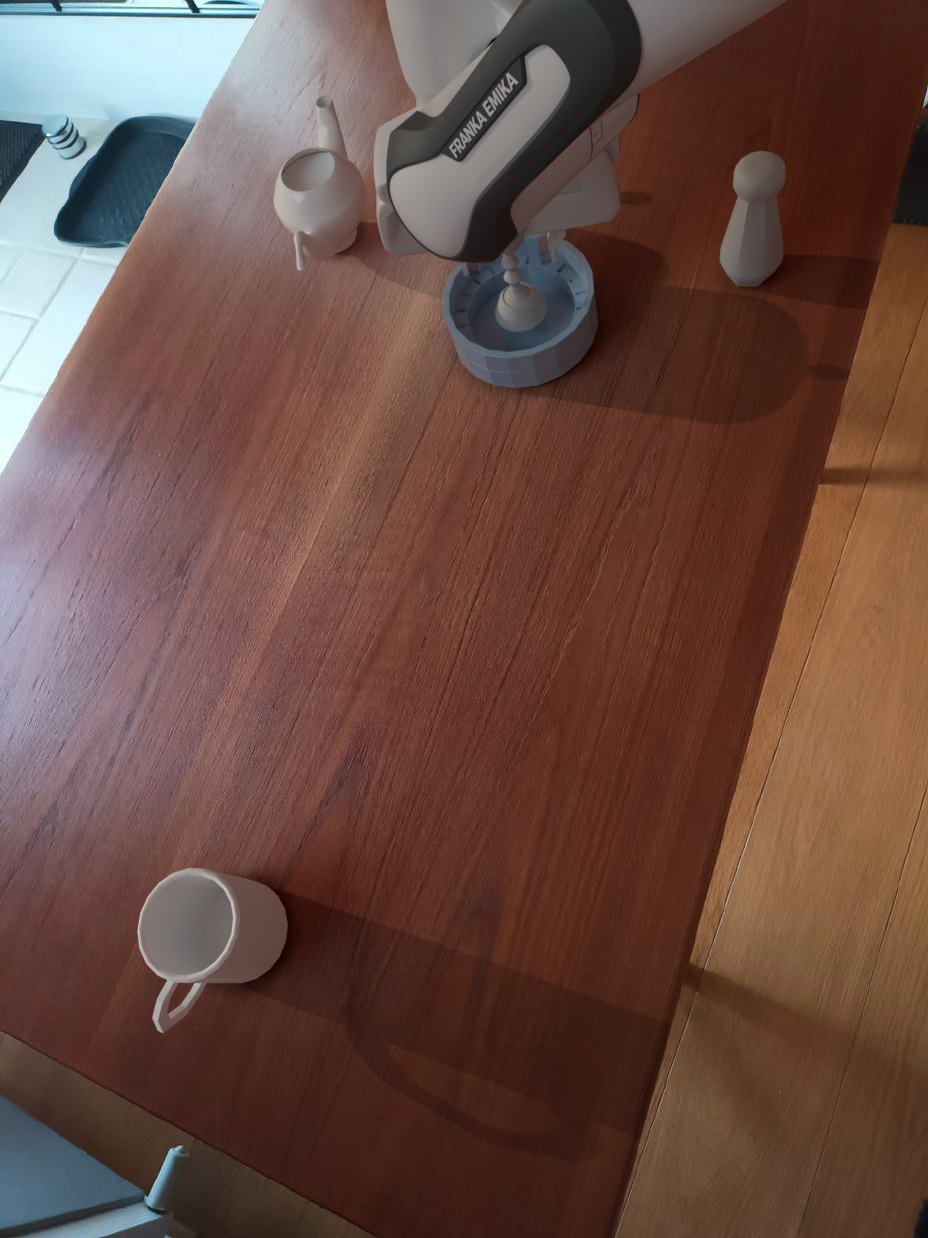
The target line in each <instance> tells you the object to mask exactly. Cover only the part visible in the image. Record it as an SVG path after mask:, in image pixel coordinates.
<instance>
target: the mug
mask: <svg viewBox="0 0 928 1238" xmlns="http://www.w3.org/2000/svg"><path fill="white" fill-rule="evenodd" d="M138 920H139V921H138V925H137V939H138V940H137V941H138V948H139V951H140V952H141V955H142V957H143V959H144V962H145V964H146V965H147V966H148V967H149V968H150V969H151V970H152V971H153V972H154V973H155V974H156V975H157V976H158V977H160V978H162V979H164V980H166V982H165V984H164V986H163V987H162V989H161V991H160V992H159V995H158V996H157V999H156V1001H155V1005H154V1009H153V1012H152V1017H151V1019H152V1021H153V1023H154V1026H155V1028H156V1030H157V1032H159V1033H162V1034H165V1033H167V1031H169V1030H170V1029H171V1028H172V1027H174V1026H175V1025H177V1023H179V1022H180V1021H182V1020H183V1019H184V1018H186V1017H187V1015H188V1014H189V1012H190V1011H191V1010H192V1008H193V1007H194V1005H195V1004H196V1002H197V1001H198V999H199V998H200V996H201V995H202V993H203V991H204V989H205V987H206V985H207V984H243V983H244V984H245V983H247V982H250V981H254V980H256V979H258V978H259V977H261V976H263V975H264V974H265V973H267V972H268V971H270V970H271V968H272V967H273V966H274V965H275V963H276V962H277V961H278V960H279V958H280V957H281V954H282V951H283V950H284V948H285V945H286V942H287V935H288V926H289V924H288V923H289V922H288V919H287V913H286V909H285V905H284V904H283V903H282V901H281V899H280V897H279V895H277V893H275V892H274V891H273V889H271V888H270V887H269V886H268V885H266V884H263V883H261V882H259V881H256V880H253V879H249V878H244V877H240V876H237V875H231V874H229V873H223V872H219V871H216V870H213V869H207V868H200V867H199V868H198V867H196V868H195V867H188V868H185V869H181V870H178V871H175V872H172V873H171V874H169V875H168V876H167V877H165V878H164V879H161V881H159V882H158V883H157V885H155V887H154V888H153V889H152V890H151V892H150V893H149V894H148V896H147V897H146V900H145V902H144V904H143V906H142V908H141V911H140V913H139V918H138ZM180 983H182V984H193V985H192V986H191V989H190V991H189V992H188V993H187V994H186V996H185V998H184V999H183V1001H181V1003H180V1004H179V1005H178V1006H177V1007H175V1008H174V1009H173V1010H171V1011H170V1012H169V1013H168V1010H169V1005H170V1002H171V999H172V996H173V994H174V992H175V990H176V989H177V987H178V985H179V984H180Z"/></svg>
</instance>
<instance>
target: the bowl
mask: <svg viewBox="0 0 928 1238" xmlns="http://www.w3.org/2000/svg"><path fill="white" fill-rule="evenodd" d="M547 233H548V232H545V233H539V234H533V235H527V236H525V237H524V240H523V242H522V244H521V246H520V248H519V249H518V250H517V251H515V252H514V254H515V256H517V257H518V258H519V263H518V265H517V269H520V270H521V271H522V272H523V277H522V279H521V280H520V282H525V283H529V284H530V285H532V286H533V287H534V288H535V289H536V290H537V291H538V292H539V293H540V294H541V295H542V296H543V297H544V298H545V300H546V303H547V312H546V315H545V317H544V319H543V320H542V321H541V322H540V323H539V324H538V325H537V326H535V327H534V328H532V329H529V330H526V331H521V332H514V331H509V330H506V329H505V328H503V327H501V326H500V324H499V323H498V322H497V320H496V317H495V309H496V306H497V304H498V300H499V297H500V294H501V292H502V291H503V290H504V289H505V288H506V287H507V286H509V285H510V284H509V283H507V282H506V281H505V280H504V274H505V272H506V271H507V270H506V268H504V267H503V266H502V265H501V261H502V259H503V255H500V256H499V257H498V258H497V259H496V260H495V261H493V262H486V263H480V274H475V275H469V276H464V273H463V270H462V266H461V265H459V264H458V263H457V265H456V266H455V268H454V269H453V271H452V272H451V273H450V274H449V276H448V278H447V281H446V284H445V287H444V289H443V290H444V291H443V292H442V295H441V296H442V299H441V300H442V317H443V319H444V322H445V325H446V328H447V331H448V334H449V337H450V341H451V343H452V346H453V348H454V350H455V353H456V355H457V357H458V360H459V362H460V364H461V365H462V366H463V367H464V368H466V370H468V372H469V373H470V374H471V375H472V376H474V377H475V378H477V379H479V380H481V381H484V382H485V383H488V384H489V385H492V386H495V387H496V386H497V387H502V388H511V389H520V388H522V389H523V388H528V387H529V388H530V387H535V386H537V387H538V386H540V385H543V384H545V383H547V382H550V381H552V380H556V379H557V378H560V377H562V376H563V375H564V374H566V373H567V372H569V371H570V370H571V369H573V368H574V367H575V366H576V365H578V364H579V363H580V362H581V361H582V360H583V358H584V356H585V355H586V353H587V352H588V351H589V349H590V348H591V346H592V345H593V343H594V340H595V336H596V333H597V330H598V327H599V319H598V307H597V306H598V305H597V296H596V289H595V280H594V271H593V269H592V267H591V265H590V263H589V262H588V260H587V258H586V256H585V254H584V253H583V252H581V250H579V249H578V248H577V247H576V246H574V245H573V244H572V243H571V242H570V241H569V240H566V239H565V238H564V239H563V240H562V242H561V243H560V245H559V246H558V248H557V262H550V263H543V264H541V259H540V254H539V243H538V236H543V235H547Z"/></svg>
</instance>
